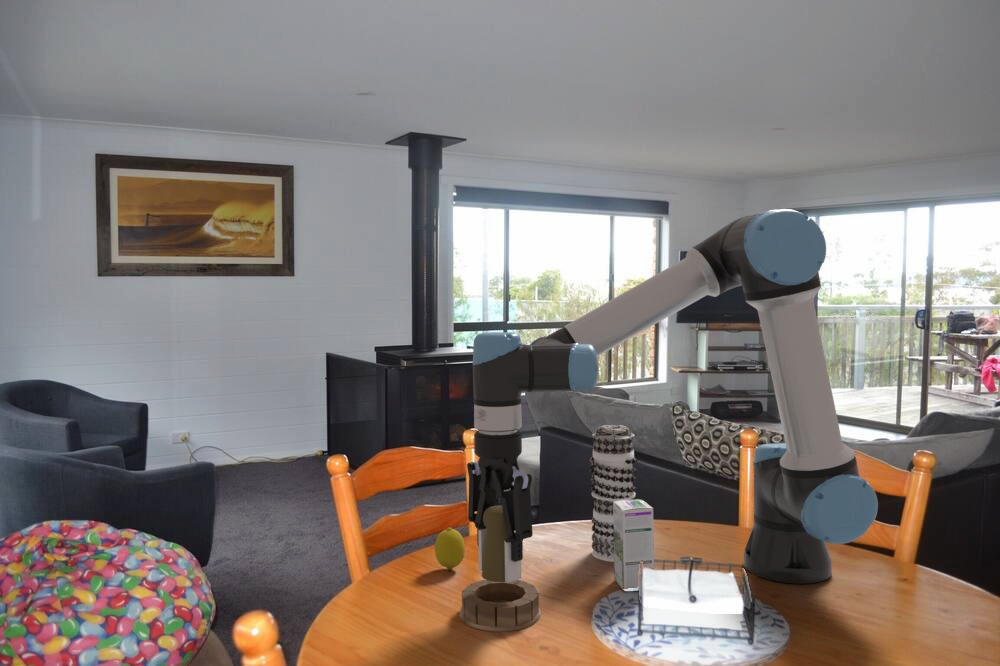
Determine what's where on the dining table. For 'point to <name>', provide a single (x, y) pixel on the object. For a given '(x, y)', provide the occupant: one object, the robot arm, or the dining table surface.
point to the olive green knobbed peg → (494, 545)
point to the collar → (500, 605)
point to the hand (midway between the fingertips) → (499, 573)
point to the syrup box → (632, 540)
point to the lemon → (449, 548)
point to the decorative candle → (610, 483)
